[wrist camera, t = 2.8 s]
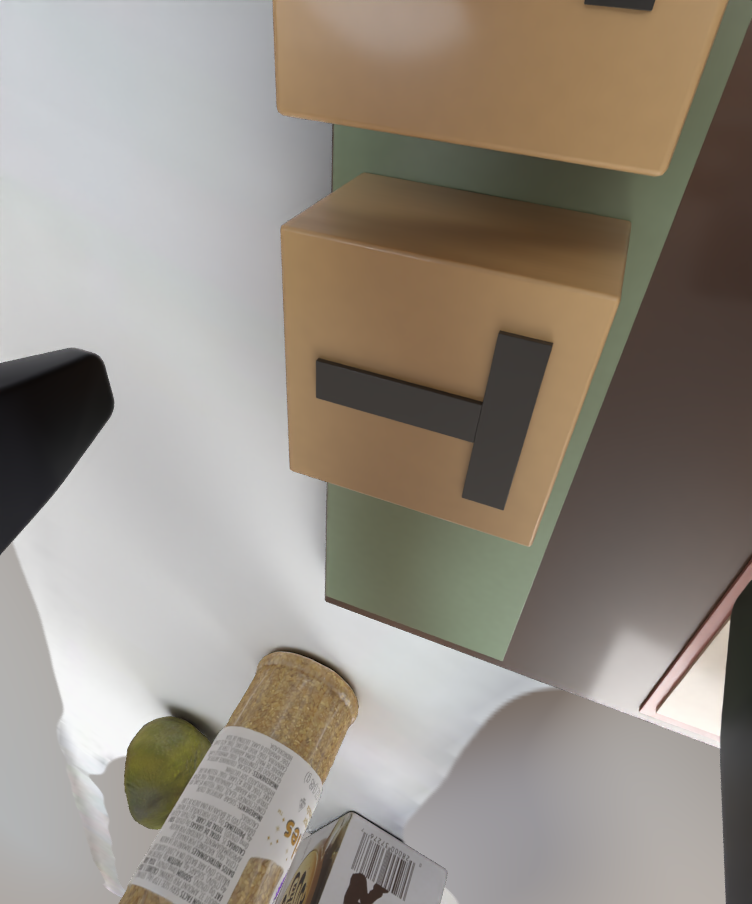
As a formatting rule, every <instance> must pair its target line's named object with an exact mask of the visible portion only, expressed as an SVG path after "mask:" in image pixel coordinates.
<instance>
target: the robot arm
mask: <svg viewBox="0 0 752 904" xmlns="http://www.w3.org/2000/svg"><path fill="white" fill-rule="evenodd" d="M113 409H114V397H113V393H112V390H111V386H110V383H109V379H108V375H107V372H106V368H105V364H104V362H103V360H102V359H101V358H100V356H98V355H97V354H95V353H92V352H88V351H85V350H82V349H78V348H66V349H62V350H57V351H53V352H48V353H44V354H39V355H35V356H30V357H26V358H21V359H17V360H12V361H8V362H3V363H0V555H1V553H2V552H3V551H4V550H5V549H6V548H7V547H8V546H9V545H10V543H11V542H12V541H13V540H14V539H15V538H16V537H17V536H18V534H19V533H20V532H21V531H22V530H23V529H24V528H25V527H26V525H27V524H28V523H29V522H30V521H31V520H32V519H33V518H34V516H35V515H36V514H37V513H38V512H39V511H40V510H41V509H42V507H43V506H44V505H45V504H46V503H47V502H48V500H49V499H50V498H51V497H52V496H53V495H54V493H55V492H56V491H57V489H58V488H59V487H60V486H61V484H62V483H63V482H64V480H65V479H66V477H67V476H68V475H69V473H70V472H71V471H72V469H73V468H74V466H75V465H76V464H77V462H78V461H79V460H80V458H81V457H82V455H83V454H84V453H85V451H86V450H87V449H88V447H89V446H90V444H91V443H92V442H93V440H94V439H95V438H96V436H97V435H98V433H99V432H100V431H101V429H102V428H103V426H104V425H105V424H106V422H107V421H108V420H109V418H110V417H111V415H112V412H113ZM720 767H721V790H722V791H721V792H722V817H723V843H724V866H725V867H724V868H725V892H726V904H752V579H751V581H750V582H749V583H748V584H747V586H746V587H745V588H744V590H743V591H742V592H741V594H740V595H739V596H738V598H737V599H736V601H735V603H734V606H733V608H732V612H731V618H730V628H729V639H728V650H727V661H726V672H725V683H724V695H723V706H722V717H721V732H720Z"/></svg>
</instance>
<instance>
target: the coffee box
mask: <svg viewBox="0 0 752 904" xmlns="http://www.w3.org/2000/svg"><path fill="white" fill-rule="evenodd" d="M447 874H448V873H447V870H446V869H445V868H443V867H441V866H440V865H438V864H437V863H435V862H433V861H432V860H430V859H428V858H427V857H425V856H424V855H422V854H420V853H419V852H417V851H415V850H414V849H412V848H411V847H409V846H407V845H406V844H404V843H403V842H401V841H399V840H398V839H396V838H395V837H393V836H391V835H390V834H388V833H386V832H385V831H383V830H382V829H380V828H378V827H377V826H375V825H374V824H372V823H370V822H369V821H367V820H366V819H364V818H362V817H361V816H359V815H358V814H356V813H353V812H349V813H347V814H345V815H344V816H342V817H340V818H339V819H337V820H335V821H334V822H332V823H330V824H329V825H327V826H325V827H323V828H322V829H320V830H318V831H317V832H315V833H314V834H312V835H310V836H308V837H307V838H305V839H303V840H302V841H301V842H300V844H299V846H298V849H297V851H296V854H295V856H294V859H293V861H292V863H291V866H290V868H289V870H288V873H287V875H286V878H285V881H284V883H283V885H282V887H281V890H280V893H279V895H278V897H277V899H276V902H275V904H440V903H441V899H442V895H443V891H444V887H445V883H446V879H447Z"/></svg>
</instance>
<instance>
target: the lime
mask: <svg viewBox="0 0 752 904" xmlns="http://www.w3.org/2000/svg"><path fill="white" fill-rule="evenodd" d="M210 747H211V743H210V741H209V740H208V739H207V738H206V736H205V735H204V734H202V733H201V732H199V731H198V730H197V729H196V728H195V727H194V726H193V725H191V724H190V723H189V722H187V721H186V720H184V719H181V718H178V717H172V716H167V717H162V718H158V719H155V720H153V721H151V722H149V723H147V724H145V725H144V726H143V727H142V728H141V729H140V730H139V732H138V733H137V734H136V736H135V737H134V738H133V740H132V741H131V743H130V745H129V747H128V749H127V757H126V763H125V774H124V778H125V779H124V785H125V793H126V796H127V801H128V804H129V810H130V813H131V815H132V817H133V818H134V820H135V821H137V822H138V823H139V824H141V825H143V826H145V827H147V828H149V829H157V830H158V829H161V828H162V826H163V825H164V823H165V821H166V819H167V818H168V816H169V814H170V813H171V811H172V810H173V808H174V806H175V805H176V803H177V801H178V800H179V798H180V796H181V795H182V793H183V791H184V790H185V788H186V786H187V785H188V783H189V781H190V780H191V778H192V776H193V775H194V773H195V771H196V770H197V768H198V767H199V765H200V763H201V762H202V760H203V758H204V757H205V755H206V753H207V752H208V750H209V748H210Z"/></svg>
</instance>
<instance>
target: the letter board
mask: <svg viewBox="0 0 752 904" xmlns="http://www.w3.org/2000/svg"><path fill="white" fill-rule="evenodd" d="M364 172H365V173H370V174H376V175H381V176H387V177H392V178H397V179H403V180H408V181H414V182H419V183H425V184H430V185H436V186H441V187H447V188H452V189H457V190H463V191H468V192H474V193H479V194H485V195H490V196H496V197H501V198H507V199H512V200H517V201H523V202H528V203H534V204H539V205H545V206H550V207H556V208H561V209H567V210H572V211H577V212H583V213H588V214H594V215H599V216H605V217H610V218H616V219H621V220H627V221H630V222H631V225H632V226H631V233H630V240H629V246H628V253H627V260H626V267H625V273H624V280H623V287H622V293H621V300H620V304H619V306H618V309H617V312H616V315H615V317H614V320H613V323H612V326H611V328H610V331H609V334H608V337H607V340H606V342H605V345H604V348H603V351H602V353H601V356H600V359H599V362H598V364H597V367H596V370H595V373H594V375H593V378H592V381H591V384H590V387H589V389H588V392H587V395H586V398H585V400H584V403H583V406H582V409H581V411H580V414H579V417H578V420H577V423H576V425H575V428H574V431H573V434H572V436H571V439H570V442H569V445H568V447H567V450H566V453H565V456H564V458H563V461H562V464H561V467H560V470H559V472H558V475H557V478H556V481H555V483H554V486H553V489H552V492H551V494H550V497H549V500H548V503H547V505H546V508H545V511H544V514H543V517H542V519H541V522H540V525H539V528H538V530H537V533H536V536H535V539H534V541H533V544H532V545H531V546H530V547H527V546H524V545H521V544H518V543H515V542H512V541H509V540H505V539H502V538H499V537H496V536H493V535H490V534H487V533H484V532H481V531H477V530H474V529H471V528H468V527H465V526H462V525H459V524H456V523H453V522H449V521H446V520H443V519H440V518H437V517H434V516H431V515H428V514H425V513H421V512H418V511H415V510H412V509H409V508H406V507H403V506H400V505H397V504H393V503H390V502H387V501H384V500H381V499H378V498H375V497H372V496H369V495H365V494H362V493H359V492H356V491H353V490H350V489H347V488H344V487H341V486H337V485H334V484H331V483H328V482H327V501H326V563H325V601H326V602H329V603H331V604H334V605H337V606H339V607H342V608H345V609H347V610H350V611H353V612H355V613H358V614H361V615H363V616H366V617H369V618H371V619H374V620H377V621H380V622H382V623H385V624H388V625H390V626H393V627H396V628H398V629H401V630H404V631H406V632H409V633H412V634H414V635H417V636H420V637H422V638H425V639H428V640H430V641H433V642H436V643H438V644H441V645H444V646H446V647H449V648H452V649H454V650H457V651H460V652H462V653H465V654H468V655H470V656H473V657H476V658H479V659H481V660H484V661H487V662H489V663H492V664H495V665H497V666H500V667H503V668H505V669H508V670H511V671H513V672H516V673H519V674H521V675H524V676H527V677H529V678H532V679H535V680H537V681H540V682H543V683H545V684H548V685H551V686H553V687H556V688H559V689H561V690H564V691H567V692H570V693H572V694H575V695H578V696H580V697H583V698H586V699H588V700H591V701H594V702H596V703H599V704H602V705H604V706H607V707H610V708H612V709H615V710H618V711H621V712H623V713H626V714H628V715H631V716H634V717H636V718H639V719H642V720H645V721H647V722H650V723H653V724H655V725H658V726H661V727H663V728H666V729H668V730H671V731H674V732H677V733H679V734H682V735H685V736H688V737H690V738H693V739H695V740H698V741H701V742H703V743H706V744H709V745H711V746H714V747H717V748H720V732H721V717H722V706H723V695H724V683H725V672H726V661H727V650H728V639H729V628H730V618H731V612H732V608H733V606H734V603H735V601H736V599H737V598H738V596H739V595H740V594H741V592H742V591H743V590H744V588H745V587H746V586H747V584H748V583H749V582H750V581H751V579H752V0H729V1H728V4H727V7H726V10H725V12H724V15H723V18H722V21H721V23H720V26H719V29H718V32H717V34H716V37H715V40H714V43H713V46H712V48H711V51H710V54H709V57H708V59H707V62H706V65H705V68H704V70H703V73H702V76H701V79H700V82H699V84H698V87H697V90H696V93H695V95H694V98H693V101H692V104H691V106H690V109H689V112H688V115H687V117H686V120H685V123H684V126H683V129H682V131H681V134H680V137H679V140H678V142H677V145H676V148H675V151H674V153H673V156H672V159H671V162H670V165H669V167H668V169H667V170H666V172H665V173H664V174H663V175H661V176H656V177H653V176H647V175H641V174H635V173H629V172H623V171H616V170H610V169H604V168H598V167H592V166H586V165H580V164H574V163H568V162H562V161H556V160H550V159H544V158H538V157H531V156H525V155H519V154H513V153H507V152H501V151H495V150H489V149H483V148H477V147H471V146H465V145H459V144H453V143H446V142H440V141H434V140H428V139H422V138H416V137H410V136H404V135H398V134H392V133H386V132H380V131H374V130H368V129H361V128H355V127H349V126H343V125H337V124H332V186H331V193H332V192H334V191H335V190H337V189H338V188H340V187H341V186H343V185H344V184H346V183H347V182H349V181H350V180H352V179H354V178H355V177H357V176H358V175H360V174H361V173H364Z"/></svg>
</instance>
